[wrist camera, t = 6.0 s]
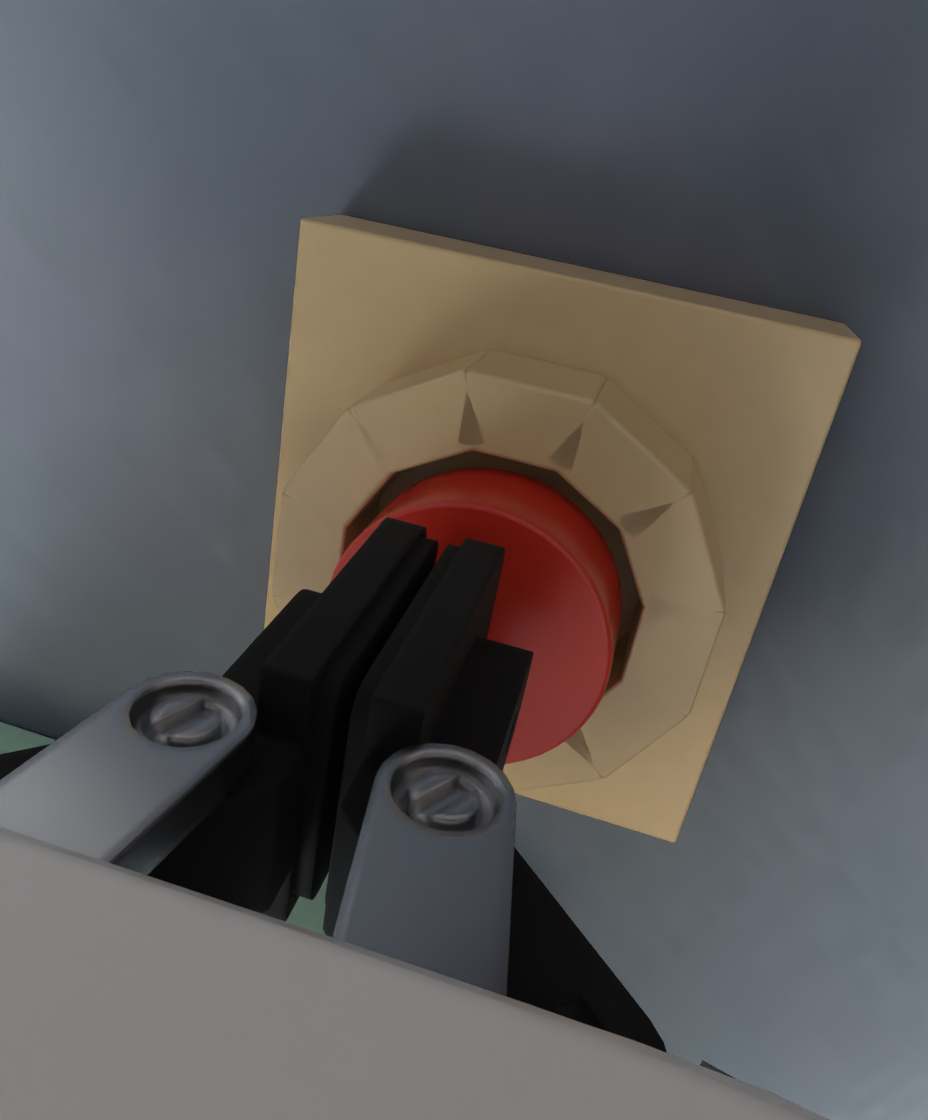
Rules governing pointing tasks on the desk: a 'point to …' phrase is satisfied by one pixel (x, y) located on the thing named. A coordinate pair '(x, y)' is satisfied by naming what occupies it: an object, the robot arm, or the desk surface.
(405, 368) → the button box
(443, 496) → the release button
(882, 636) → the desk surface
